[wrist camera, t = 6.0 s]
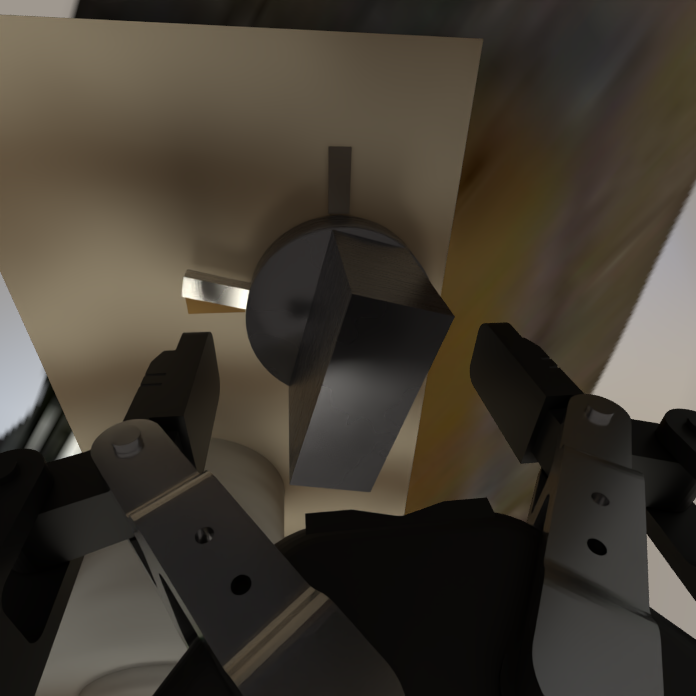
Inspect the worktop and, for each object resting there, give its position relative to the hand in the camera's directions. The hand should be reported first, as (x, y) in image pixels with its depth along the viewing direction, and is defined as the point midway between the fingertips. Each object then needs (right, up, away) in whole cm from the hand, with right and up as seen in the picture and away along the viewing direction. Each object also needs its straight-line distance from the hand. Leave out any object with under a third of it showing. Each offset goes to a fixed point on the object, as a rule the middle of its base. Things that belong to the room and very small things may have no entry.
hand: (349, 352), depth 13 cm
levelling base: (-4, 0, +6) cm, 8 cm away
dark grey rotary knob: (-1, +2, +3) cm, 3 cm away
